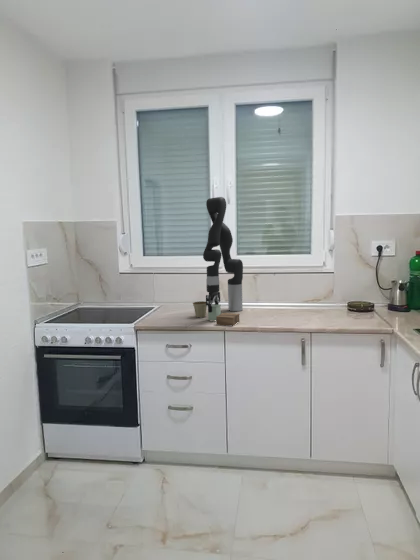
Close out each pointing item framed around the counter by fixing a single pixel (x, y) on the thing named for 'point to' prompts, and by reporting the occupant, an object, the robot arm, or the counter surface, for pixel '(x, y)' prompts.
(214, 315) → the canister
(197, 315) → the flower pot
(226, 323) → the walnut box
